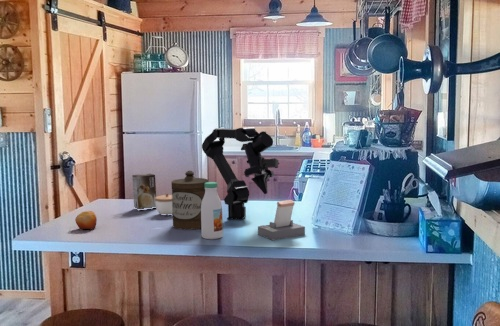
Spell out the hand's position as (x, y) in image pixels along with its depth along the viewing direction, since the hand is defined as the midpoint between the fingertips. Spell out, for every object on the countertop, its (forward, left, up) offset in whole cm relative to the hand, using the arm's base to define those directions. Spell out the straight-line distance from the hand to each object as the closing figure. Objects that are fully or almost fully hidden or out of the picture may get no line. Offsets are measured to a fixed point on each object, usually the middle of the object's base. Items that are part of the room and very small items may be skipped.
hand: (266, 193), depth 211 cm
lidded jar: (-48, +13, -13) cm, 51 cm away
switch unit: (+8, -13, -13) cm, 20 cm away
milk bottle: (-16, -21, -13) cm, 29 cm away
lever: (+8, -13, -10) cm, 18 cm away
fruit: (-69, -18, -13) cm, 72 cm away
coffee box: (-63, +22, -13) cm, 68 cm away
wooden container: (-30, -5, -13) cm, 33 cm away
